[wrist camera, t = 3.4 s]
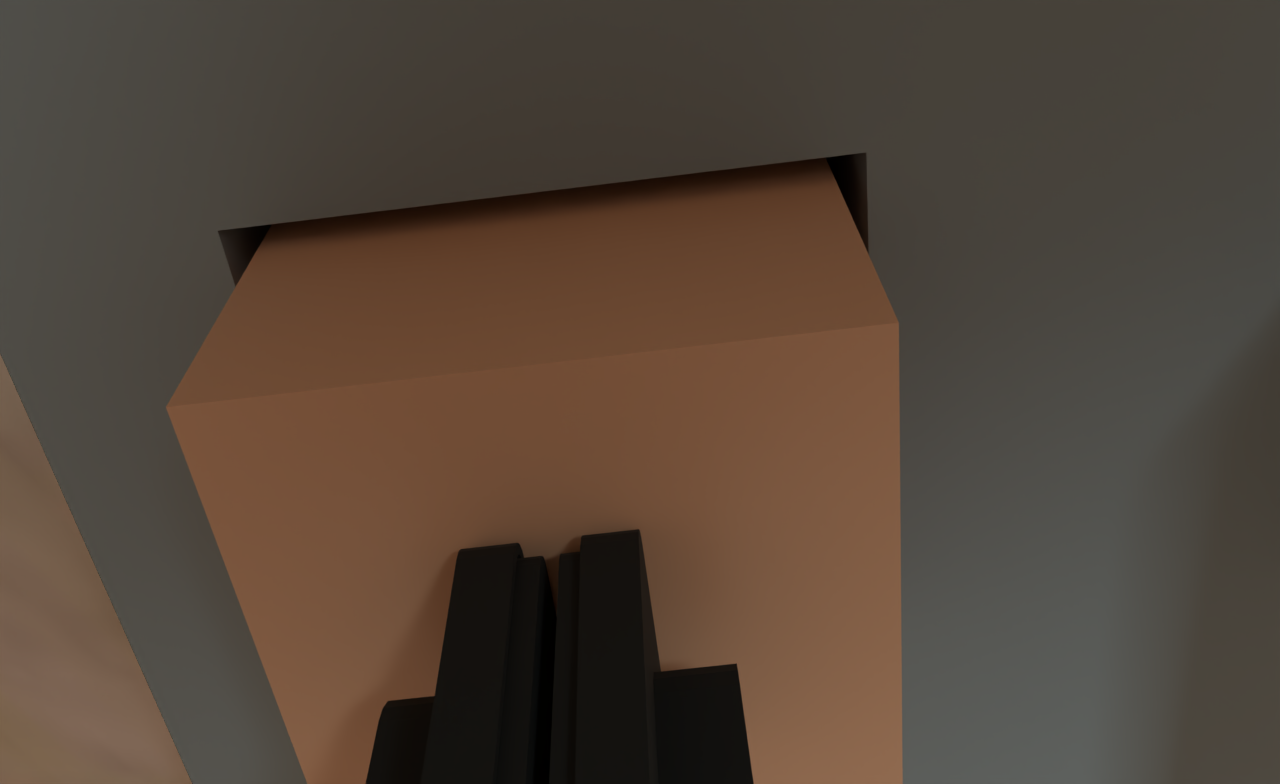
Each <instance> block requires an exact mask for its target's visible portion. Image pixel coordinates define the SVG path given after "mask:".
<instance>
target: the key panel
mask: <svg viewBox="0 0 1280 784" xmlns="http://www.w3.org/2000/svg"><path fill="white" fill-rule="evenodd" d="M816 158H826V160H827V162H828V164H829V167H830V169H831V171H832V173H833V176H834V178H835V180H836V182H837V185H838V187H839V189H840V191H841V194H842V196H843V198H844V200H845V203H846V205H847V207H848V209H849V212H850V214H851V216H852V218H853V221H854V223H855V225H856V227H857V230H858V232H859V234H860V236H861V239H862V241H863V243H864V245H865V248H866V250H867V252H868V254H869V257H870V259H871V261H872V263H873V266H874V268H875V270H876V272H877V275H878V277H879V279H880V281H881V284H882V286H883V288H884V290H885V293H886V295H887V297H888V299H889V302H890V304H891V306H892V308H893V311H894V313H895V315H896V317H897V320H898V322H899V403H900V524H901V646H902V768H903V784H1280V0H0V354H1V356H2V358H3V361H4V363H5V365H6V367H7V370H8V372H9V374H10V376H11V378H12V381H13V383H14V385H15V387H16V390H17V392H18V394H19V396H20V399H21V401H22V403H23V405H24V408H25V410H26V412H27V414H28V417H29V419H30V421H31V423H32V426H33V428H34V430H35V432H36V434H37V437H38V439H39V441H40V443H41V446H42V448H43V450H44V452H45V455H46V457H47V459H48V461H49V464H50V466H51V468H52V470H53V473H54V475H55V477H56V479H57V482H58V484H59V486H60V488H61V490H62V493H63V495H64V497H65V499H66V502H67V504H68V506H69V508H70V511H71V513H72V515H73V517H74V520H75V522H76V524H77V526H78V529H79V531H80V533H81V535H82V538H83V540H84V542H85V544H86V547H87V549H88V551H89V553H90V555H91V558H92V560H93V562H94V564H95V567H96V569H97V571H98V573H99V576H100V578H101V580H102V582H103V585H104V587H105V589H106V591H107V594H108V596H109V598H110V600H111V603H112V605H113V607H114V609H115V611H116V614H117V616H118V618H119V620H120V623H121V625H122V627H123V629H124V632H125V634H126V636H127V638H128V641H129V643H130V645H131V647H132V650H133V652H134V654H135V656H136V659H137V661H138V663H139V665H140V667H141V670H142V672H143V674H144V676H145V679H146V681H147V683H148V685H149V688H150V690H151V692H152V694H153V697H154V699H155V701H156V703H157V706H158V708H159V710H160V712H161V715H162V717H163V719H164V721H165V723H166V726H167V728H168V730H169V732H170V735H171V737H172V739H173V741H174V744H175V746H176V748H177V750H178V753H179V755H180V757H181V759H182V762H183V764H184V766H185V768H186V771H187V773H188V775H189V777H190V779H191V782H192V784H307V782H306V779H305V776H304V774H303V771H302V768H301V766H300V763H299V760H298V758H297V755H296V752H295V750H294V747H293V744H292V742H291V739H290V736H289V734H288V731H287V728H286V726H285V723H284V720H283V718H282V715H281V712H280V710H279V707H278V704H277V702H276V699H275V696H274V694H273V691H272V688H271V686H270V683H269V680H268V678H267V675H266V672H265V670H264V667H263V664H262V662H261V659H260V656H259V654H258V651H257V648H256V646H255V643H254V640H253V638H252V635H251V632H250V630H249V627H248V624H247V622H246V619H245V616H244V614H243V611H242V608H241V606H240V603H239V600H238V598H237V595H236V593H235V590H234V587H233V585H232V582H231V579H230V577H229V574H228V571H227V569H226V566H225V563H224V561H223V558H222V555H221V553H220V550H219V547H218V545H217V542H216V539H215V537H214V534H213V531H212V529H211V526H210V523H209V521H208V518H207V515H206V513H205V510H204V507H203V505H202V502H201V499H200V497H199V494H198V491H197V489H196V486H195V483H194V481H193V478H192V475H191V473H190V470H189V467H188V465H187V462H186V459H185V457H184V454H183V451H182V449H181V446H180V443H179V441H178V438H177V435H176V433H175V430H174V427H173V425H172V422H171V419H170V417H169V414H168V411H167V409H166V406H167V404H168V403H169V401H170V399H171V398H172V396H173V394H174V392H175V391H176V389H177V387H178V385H179V384H180V382H181V380H182V379H183V377H184V375H185V373H186V372H187V370H188V368H189V366H190V365H191V363H192V361H193V360H194V358H195V356H196V354H197V353H198V351H199V349H200V348H201V346H202V344H203V342H204V341H205V339H206V337H207V335H208V334H209V332H210V330H211V329H212V327H213V325H214V323H215V322H216V320H217V318H218V316H219V315H220V313H221V311H222V310H223V308H224V306H225V304H226V303H227V301H228V299H229V297H230V296H231V294H232V292H233V291H234V289H235V287H236V285H237V284H238V282H239V280H240V279H241V277H242V275H243V273H244V272H245V270H246V268H247V266H248V265H249V263H250V261H251V260H252V258H253V256H254V254H255V253H256V251H257V249H258V247H259V246H260V244H261V242H262V241H263V239H264V237H265V235H266V234H267V232H268V230H269V229H270V227H271V225H272V224H278V223H286V222H294V221H303V220H311V219H319V218H327V217H336V216H344V215H352V214H361V213H369V212H377V211H385V210H394V209H402V208H410V207H419V206H427V205H435V204H443V203H452V202H460V201H468V200H477V199H485V198H493V197H501V196H510V195H518V194H526V193H535V192H543V191H551V190H559V189H568V188H576V187H584V186H593V185H601V184H609V183H618V182H626V181H634V180H642V179H651V178H659V177H667V176H676V175H684V174H692V173H700V172H709V171H717V170H725V169H734V168H742V167H750V166H758V165H767V164H775V163H783V162H792V161H800V160H808V159H816Z"/></svg>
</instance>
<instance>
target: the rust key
mask: <svg viewBox="0 0 1280 784" xmlns="http://www.w3.org/2000/svg"><path fill="white" fill-rule="evenodd" d="M166 409H167V411H168V414H169V417H170V419H171V422H172V425H173V427H174V430H175V433H176V435H177V438H178V441H179V443H180V446H181V449H182V451H183V454H184V457H185V459H186V462H187V465H188V467H189V470H190V473H191V475H192V478H193V481H194V483H195V486H196V489H197V491H198V494H199V497H200V499H201V502H202V505H203V507H204V510H205V513H206V515H207V518H208V521H209V523H210V526H211V529H212V531H213V534H214V537H215V539H216V542H217V545H218V547H219V550H220V553H221V555H222V558H223V561H224V563H225V566H226V569H227V571H228V574H229V577H230V579H231V582H232V585H233V587H234V590H235V593H236V595H237V598H238V600H239V603H240V606H241V608H242V611H243V614H244V616H245V619H246V622H247V624H248V627H249V630H250V632H251V635H252V638H253V640H254V643H255V646H256V648H257V651H258V654H259V656H260V659H261V662H262V664H263V667H264V670H265V672H266V675H267V678H268V680H269V683H270V686H271V688H272V691H273V694H274V696H275V699H276V702H277V704H278V707H279V710H280V712H281V715H282V718H283V720H284V723H285V726H286V728H287V731H288V734H289V736H290V739H291V742H292V744H293V747H294V750H295V752H296V755H297V758H298V760H299V763H300V766H301V768H302V771H303V774H304V776H305V779H306V782H307V784H366V779H367V774H368V769H369V765H370V760H371V755H372V750H373V745H374V741H375V736H376V731H377V726H378V722H379V718H380V715H381V712H382V709H383V707H384V706H385V704H386V703H387V701H391V700H401V699H410V698H419V697H429V696H435V690H436V684H437V677H438V671H439V665H440V659H441V652H442V646H443V640H444V634H445V628H446V621H447V615H448V609H449V603H450V596H451V590H452V584H453V578H454V571H455V565H456V559H457V555H458V552H459V551H460V549H466V548H475V547H484V546H493V545H501V544H510V543H519V544H520V546H521V548H522V551H523V555H524V558H526V557H535V556H543V557H544V560H545V563H546V567H547V572H548V577H549V582H550V587H551V592H552V597H553V602H554V607H555V612H556V617H557V596H558V574H559V557H560V554H562V553H571V552H580V543H581V537H582V535H591V534H600V533H609V532H618V531H627V530H636V529H639V530H640V533H641V538H642V545H643V551H644V558H645V565H646V572H647V579H648V585H649V592H650V599H651V606H652V613H653V619H654V626H655V633H656V640H657V647H658V654H659V660H660V667H661V672H662V671H671V670H680V669H690V668H699V667H708V666H718V665H727V664H736V663H737V668H738V674H739V681H740V688H741V695H742V703H743V710H744V717H745V724H746V732H747V739H748V746H749V754H750V761H751V768H752V775H753V783H754V784H903V768H902V646H901V524H900V403H899V322H898V320H897V317H896V315H895V313H894V311H893V308H892V306H891V304H890V302H889V299H888V297H887V295H886V293H885V290H884V288H883V286H882V284H881V281H880V279H879V277H878V275H877V272H876V270H875V268H874V266H873V263H872V261H871V259H870V257H869V254H868V252H867V250H866V248H865V245H864V243H863V241H862V239H861V236H860V234H859V232H858V230H857V227H856V225H855V223H854V221H853V218H852V216H851V214H850V212H849V209H848V207H847V205H846V203H845V200H844V198H843V196H842V194H841V191H840V189H839V187H838V185H837V182H836V180H835V178H834V176H833V173H832V171H831V169H830V167H829V164H828V162H827V160H826V158H816V159H808V160H800V161H792V162H783V163H775V164H767V165H758V166H750V167H742V168H734V169H725V170H717V171H709V172H700V173H692V174H684V175H676V176H667V177H659V178H651V179H642V180H634V181H626V182H618V183H609V184H601V185H593V186H584V187H576V188H568V189H559V190H551V191H543V192H535V193H526V194H518V195H510V196H501V197H493V198H485V199H477V200H468V201H460V202H452V203H443V204H435V205H427V206H419V207H410V208H402V209H394V210H385V211H377V212H369V213H361V214H352V215H344V216H336V217H327V218H319V219H311V220H303V221H294V222H286V223H278V224H272V225H271V227H270V229H269V230H268V232H267V234H266V235H265V237H264V239H263V241H262V242H261V244H260V246H259V247H258V249H257V251H256V253H255V254H254V256H253V258H252V260H251V261H250V263H249V265H248V266H247V268H246V270H245V272H244V273H243V275H242V277H241V279H240V280H239V282H238V284H237V285H236V287H235V289H234V291H233V292H232V294H231V296H230V297H229V299H228V301H227V303H226V304H225V306H224V308H223V310H222V311H221V313H220V315H219V316H218V318H217V320H216V322H215V323H214V325H213V327H212V329H211V330H210V332H209V334H208V335H207V337H206V339H205V341H204V342H203V344H202V346H201V348H200V349H199V351H198V353H197V354H196V356H195V358H194V360H193V361H192V363H191V365H190V366H189V368H188V370H187V372H186V373H185V375H184V377H183V379H182V380H181V382H180V384H179V385H178V387H177V389H176V391H175V392H174V394H173V396H172V398H171V399H170V401H169V403H168V404H167V406H166Z"/></svg>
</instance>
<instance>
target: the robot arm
mask: <svg viewBox="0 0 1280 784" xmlns="http://www.w3.org/2000/svg"><path fill="white" fill-rule="evenodd" d="M366 784H754V783H753V775H752V768H751V761H750V754H749V746H748V739H747V732H746V724H745V717H744V710H743V703H742V695H741V688H740V681H739V674H738V668H737V663H736V664H727V665H718V666H708V667H699V668H690V669H680V670H671V671H662V672H661V667H660V660H659V654H658V647H657V640H656V633H655V626H654V619H653V613H652V606H651V599H650V592H649V585H648V579H647V572H646V565H645V558H644V551H643V545H642V538H641V533H640V530H639V529H636V530H627V531H618V532H609V533H600V534H591V535H582V537H581V543H580V552H571V553H562V554H560V557H559V574H558V596H557V617H556V612H555V607H554V602H553V597H552V592H551V587H550V582H549V577H548V572H547V567H546V563H545V560H544V557H543V556H535V557H526V558H524V555H523V551H522V548H521V546H520V544H519V543H510V544H501V545H493V546H484V547H475V548H466V549H460V551H459V552H458V555H457V559H456V565H455V571H454V578H453V584H452V590H451V596H450V603H449V609H448V615H447V621H446V628H445V634H444V640H443V646H442V652H441V659H440V665H439V671H438V677H437V684H436V690H435V696H429V697H419V698H410V699H401V700H391V701H387V703H386V704H385V706H384V707H383V709H382V712H381V715H380V718H379V722H378V726H377V731H376V736H375V741H374V745H373V750H372V755H371V760H370V765H369V769H368V774H367V779H366Z"/></svg>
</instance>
